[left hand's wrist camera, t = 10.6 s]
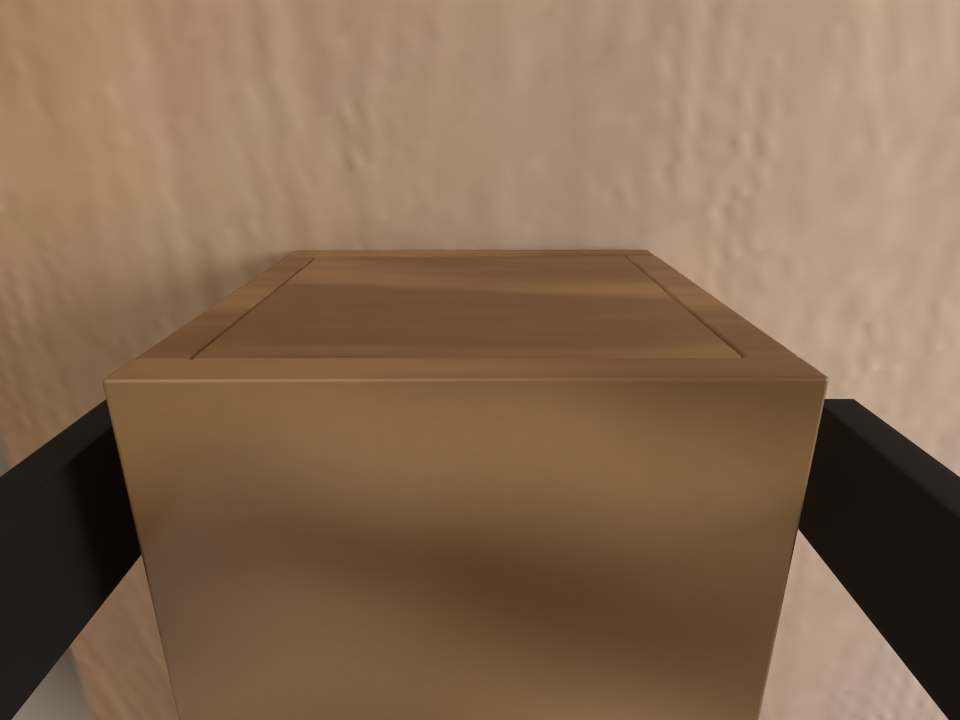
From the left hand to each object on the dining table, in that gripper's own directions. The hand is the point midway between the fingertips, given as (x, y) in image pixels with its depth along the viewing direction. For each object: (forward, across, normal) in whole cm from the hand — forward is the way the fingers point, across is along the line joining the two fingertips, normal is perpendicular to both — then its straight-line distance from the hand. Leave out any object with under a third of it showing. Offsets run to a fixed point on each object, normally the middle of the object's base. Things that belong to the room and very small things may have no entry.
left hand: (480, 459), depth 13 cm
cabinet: (+7, 0, -7) cm, 10 cm away
